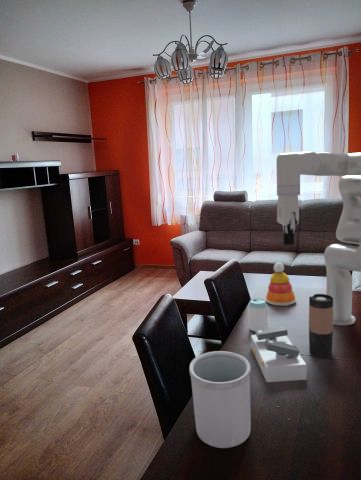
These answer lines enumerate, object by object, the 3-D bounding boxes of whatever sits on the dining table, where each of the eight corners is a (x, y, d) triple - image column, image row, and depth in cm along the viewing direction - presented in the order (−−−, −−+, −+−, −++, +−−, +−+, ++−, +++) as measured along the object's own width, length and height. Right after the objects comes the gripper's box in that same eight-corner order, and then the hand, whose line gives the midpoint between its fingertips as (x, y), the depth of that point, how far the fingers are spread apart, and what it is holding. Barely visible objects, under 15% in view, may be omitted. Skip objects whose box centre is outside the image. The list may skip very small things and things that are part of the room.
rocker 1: (256, 335, 130) (255, 329, 130) (284, 330, 130) (284, 325, 129) (258, 340, 126) (257, 334, 126) (287, 335, 126) (287, 329, 126)
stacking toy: (299, 299, 179) (299, 259, 176) (291, 309, 168) (291, 267, 164) (270, 295, 187) (270, 257, 183) (260, 305, 175) (260, 264, 172)
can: (247, 332, 148) (247, 303, 145) (251, 324, 154) (250, 297, 152) (265, 334, 145) (265, 304, 143) (268, 326, 151) (268, 298, 149)
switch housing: (250, 348, 135) (250, 331, 134) (284, 345, 135) (284, 329, 134) (265, 382, 113) (265, 363, 112) (306, 379, 113) (306, 360, 112)
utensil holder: (213, 460, 85) (210, 390, 81) (182, 422, 98) (178, 361, 94) (264, 435, 91) (263, 370, 88) (229, 403, 104) (227, 345, 101)
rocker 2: (264, 344, 119) (266, 338, 118) (293, 351, 119) (296, 345, 119) (267, 349, 115) (269, 343, 115) (297, 357, 116) (299, 351, 116)
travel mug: (334, 359, 124) (335, 301, 120) (310, 358, 126) (310, 301, 122) (330, 348, 131) (331, 293, 128) (307, 347, 133) (307, 293, 129)
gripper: (271, 190, 133) (272, 240, 136) (283, 193, 118) (284, 249, 122) (292, 188, 133) (292, 239, 136) (307, 191, 118) (307, 248, 122)
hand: (288, 244), depth 129 cm, fingers closed
